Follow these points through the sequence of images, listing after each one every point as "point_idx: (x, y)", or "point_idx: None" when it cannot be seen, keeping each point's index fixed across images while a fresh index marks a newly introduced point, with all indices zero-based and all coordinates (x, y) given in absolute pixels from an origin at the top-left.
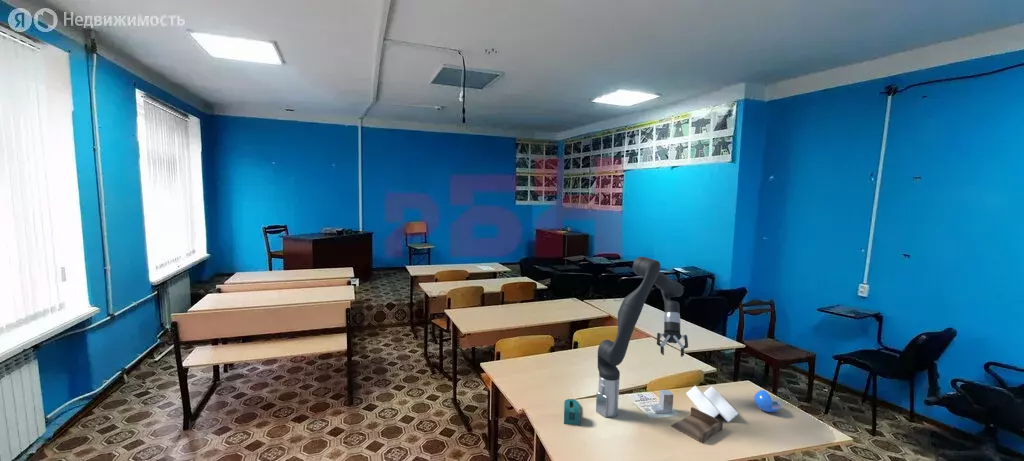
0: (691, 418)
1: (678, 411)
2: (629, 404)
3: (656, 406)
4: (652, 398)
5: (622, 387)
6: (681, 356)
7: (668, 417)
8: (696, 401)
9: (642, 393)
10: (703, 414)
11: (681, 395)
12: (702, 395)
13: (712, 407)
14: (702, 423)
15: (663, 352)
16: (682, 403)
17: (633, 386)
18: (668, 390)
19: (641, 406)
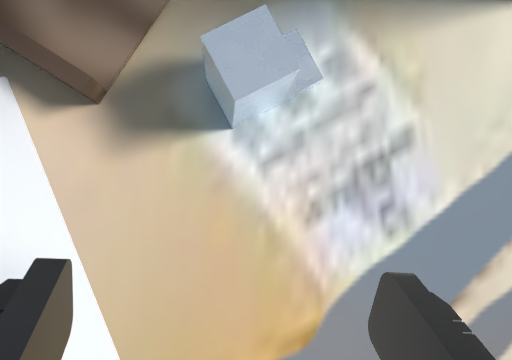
0: (100, 53)
1: (172, 116)
2: (436, 76)
3: (295, 78)
4: (323, 207)
5: (506, 267)
6: (57, 262)
7: None
8: None
9: (385, 244)
10: (18, 31)
11: (154, 334)
12: None
13: None
14: (42, 24)
15: (399, 299)
16: (149, 227)
17: None
18: (238, 91)
19: (372, 82)
